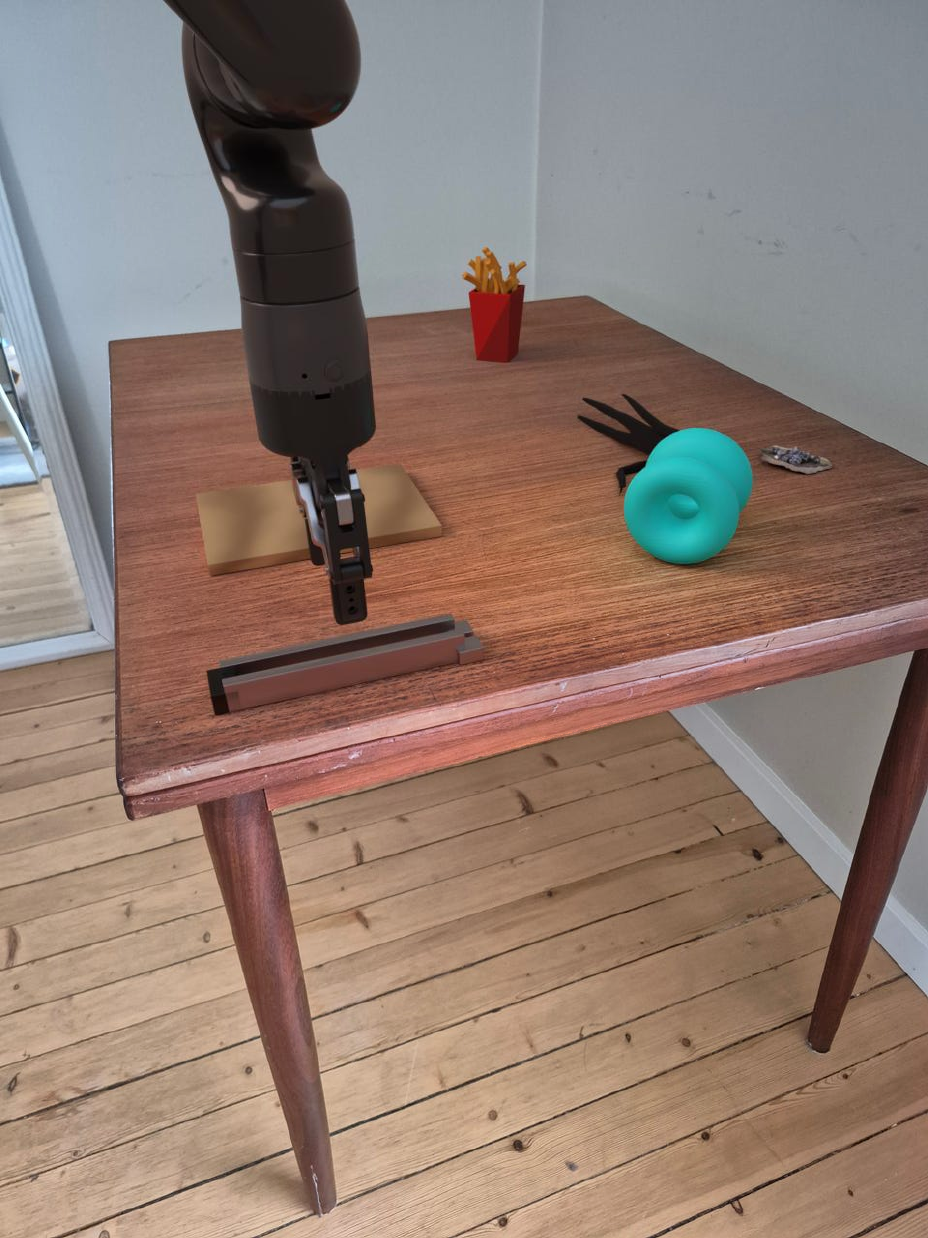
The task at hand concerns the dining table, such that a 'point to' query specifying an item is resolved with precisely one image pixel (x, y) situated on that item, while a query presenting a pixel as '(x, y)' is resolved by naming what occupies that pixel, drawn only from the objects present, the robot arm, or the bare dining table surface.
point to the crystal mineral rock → (794, 459)
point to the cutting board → (275, 530)
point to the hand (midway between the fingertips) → (338, 590)
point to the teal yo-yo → (689, 496)
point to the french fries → (495, 308)
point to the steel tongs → (341, 662)
